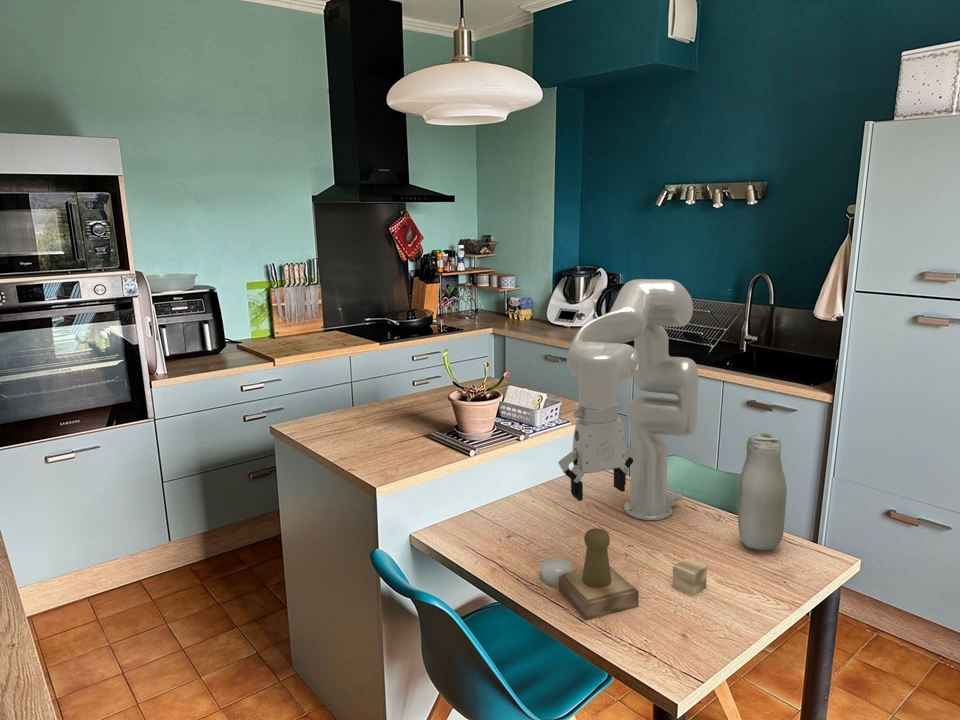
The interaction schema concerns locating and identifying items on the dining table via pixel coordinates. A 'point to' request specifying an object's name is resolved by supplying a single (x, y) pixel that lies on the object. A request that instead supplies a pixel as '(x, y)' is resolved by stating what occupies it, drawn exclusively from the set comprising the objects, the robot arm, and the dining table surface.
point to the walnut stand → (598, 595)
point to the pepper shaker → (596, 559)
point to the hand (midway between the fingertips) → (598, 493)
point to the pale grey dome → (554, 570)
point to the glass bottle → (762, 494)
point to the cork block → (689, 576)
